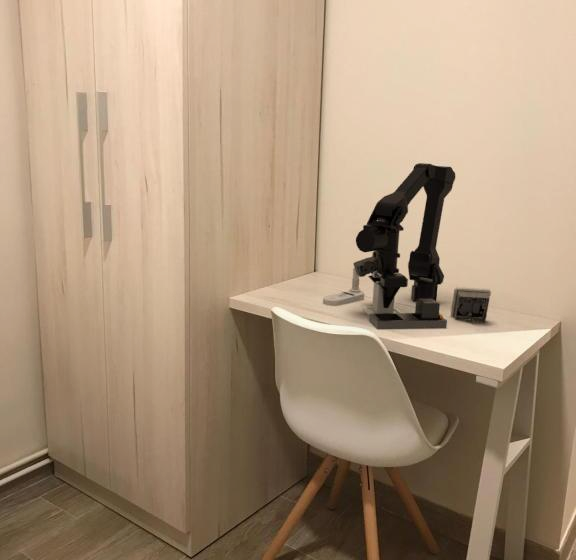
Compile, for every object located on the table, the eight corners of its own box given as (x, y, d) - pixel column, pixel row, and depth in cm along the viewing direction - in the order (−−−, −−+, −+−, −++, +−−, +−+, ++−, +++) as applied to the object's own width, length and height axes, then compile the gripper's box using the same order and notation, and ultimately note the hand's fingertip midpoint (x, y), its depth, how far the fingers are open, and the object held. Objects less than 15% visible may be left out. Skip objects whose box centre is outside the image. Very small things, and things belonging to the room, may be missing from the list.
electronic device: (320, 272, 174) (355, 265, 184) (319, 306, 176) (353, 297, 186) (334, 276, 170) (369, 268, 180) (332, 310, 172) (367, 301, 182)
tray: (393, 310, 172) (393, 306, 172) (403, 318, 164) (403, 313, 164) (362, 310, 171) (362, 306, 170) (370, 318, 163) (370, 314, 163)
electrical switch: (485, 319, 167) (489, 286, 164) (489, 326, 162) (493, 293, 159) (449, 317, 168) (453, 284, 165) (452, 324, 163) (456, 291, 160)
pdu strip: (435, 322, 162) (437, 296, 161) (446, 330, 156) (448, 303, 154) (368, 322, 159) (370, 297, 158) (377, 331, 153) (378, 304, 151)
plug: (387, 310, 170) (390, 280, 168) (393, 315, 166) (395, 284, 164) (372, 310, 169) (374, 280, 167) (376, 315, 165) (379, 284, 163)
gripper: (348, 242, 171) (345, 297, 175) (367, 254, 153) (363, 315, 157) (387, 242, 173) (383, 297, 176) (410, 254, 155) (405, 315, 159)
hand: (383, 305), depth 167 cm, fingers closed on plug, 4 cm apart
